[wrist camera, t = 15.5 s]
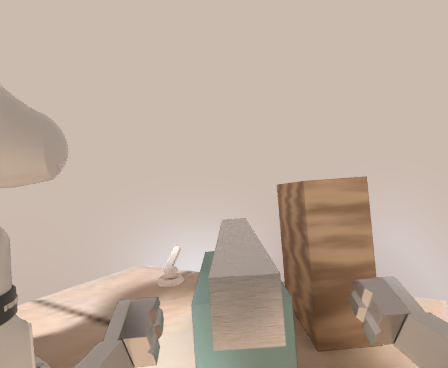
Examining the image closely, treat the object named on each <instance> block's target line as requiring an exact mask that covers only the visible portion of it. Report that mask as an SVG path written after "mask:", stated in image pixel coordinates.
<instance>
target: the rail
mask: <svg viewBox="0 0 448 368" xmlns="http://www.w3.org/2000/svg"><path fill="white" fill-rule="evenodd" d="M208 280H209V294H210V307H211V321H212V335H213V349H214V351H220V350H236V349H251V348H267V347H283V346H286V340H285V328H284V316H283V304H282V291H281V280H280V272H279V271H278V269H277V268H276V266H275V264H274V263H273V261H272V260H271V258H270V256H269V255H268V253H267V252H266V250H265V248H264V247H263V245H262V244H261V242H260V241H259V239H258V237H257V236H256V234H255V233H254V231H253V230H252V228H251V226H250V225H249V223H248V222H247V220H246V218H241V219H227V220H222V223H221V227H220V231H219V236H218V240H217V244H216V248H215V252H214V256H213V261H212V265H211V269H210V273H209V277H208Z"/></svg>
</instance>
